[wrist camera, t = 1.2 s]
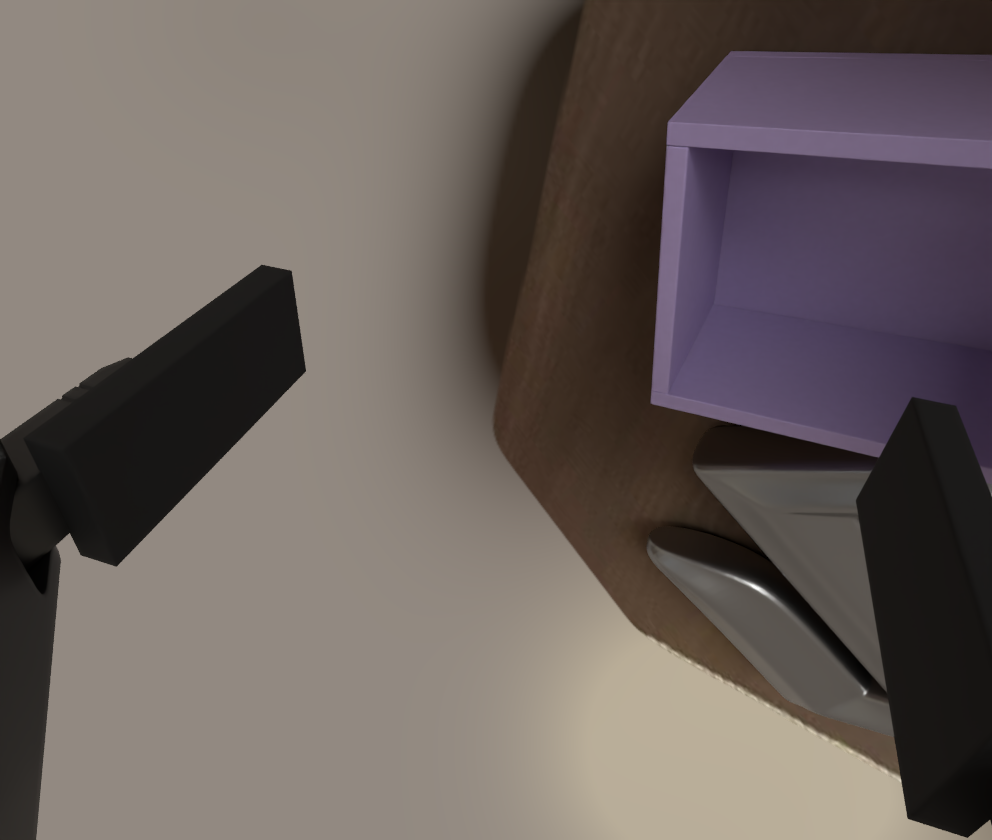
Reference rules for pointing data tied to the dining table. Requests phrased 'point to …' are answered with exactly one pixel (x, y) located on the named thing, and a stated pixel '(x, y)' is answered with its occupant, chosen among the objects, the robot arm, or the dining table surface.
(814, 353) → the box
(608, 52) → the dining table surface
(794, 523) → the emblem
